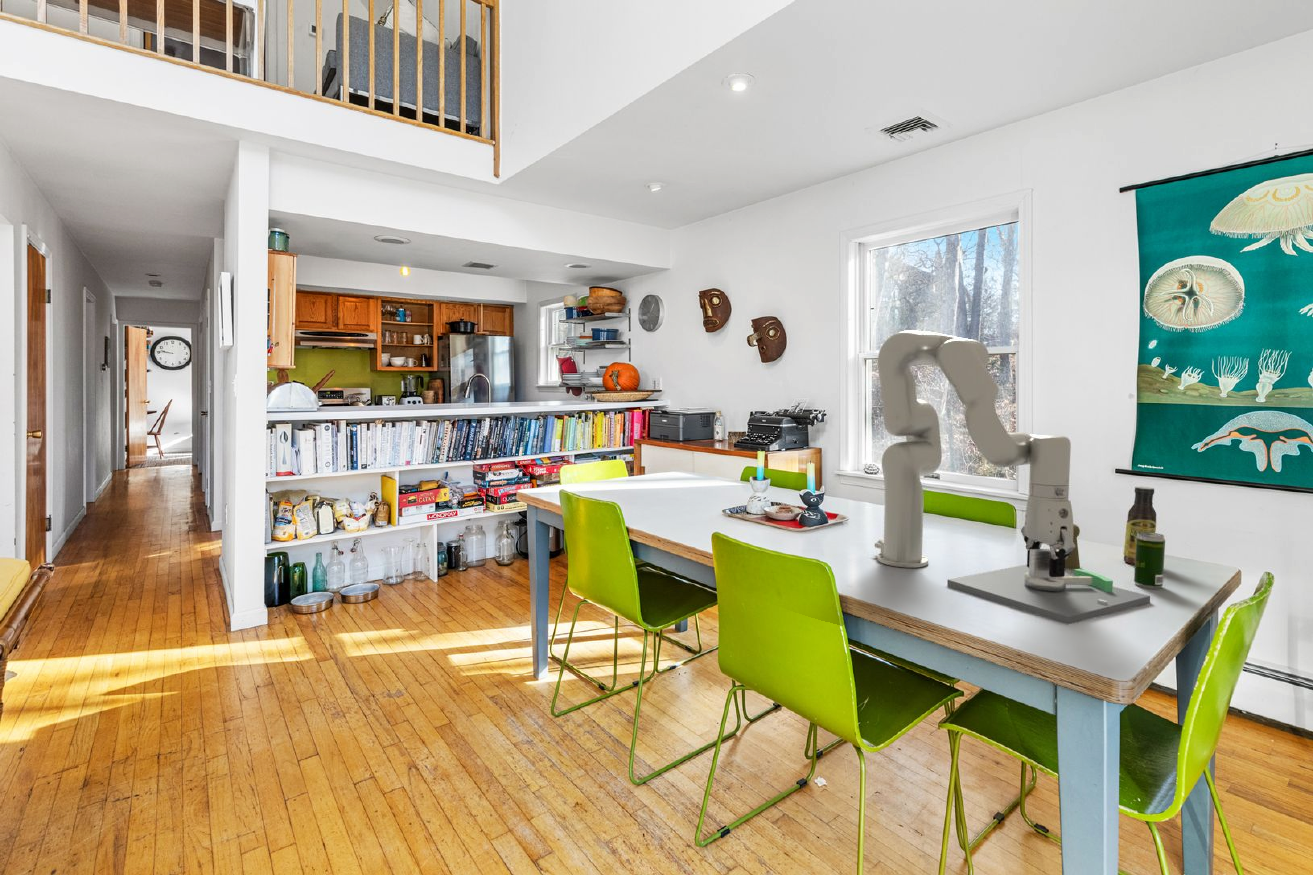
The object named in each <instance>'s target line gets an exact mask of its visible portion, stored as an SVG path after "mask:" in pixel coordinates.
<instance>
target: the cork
mask: <svg viewBox="0 0 1313 875" xmlns="http://www.w3.org/2000/svg"><path fill="white" fill-rule="evenodd" d="M1080 531H1081V530H1080V527H1079V525H1077V524H1074V523H1073V542H1074V544H1075V548H1074V549H1073V550H1072V551H1071V553H1070V554H1069V555H1068V558H1067V559H1065V570H1075V569H1081V566H1080V564H1081V563H1080V554H1079V553H1080V552H1079V547H1078V544H1079V543H1078V537H1079V535H1080ZM1057 544H1059V543H1057ZM1056 549H1058V550H1060V548H1056Z"/></svg>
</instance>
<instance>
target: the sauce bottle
mask: <svg viewBox="0 0 1313 875" xmlns="http://www.w3.org/2000/svg"><path fill="white" fill-rule="evenodd" d="M1134 493H1135V494H1134V495H1135V496H1134V502H1133V505H1132V506H1131V508H1130V509H1129V510H1128V511H1127V520H1126V524H1125V526H1126V527H1125V534H1124V535H1125V536H1124V544H1123V561H1124V562H1125V563H1128V564H1132V565H1135V553H1136V537H1137V535H1138V533H1139V532H1150V533H1157V532H1156V530H1157V512H1156V510H1155V509H1154V506H1153V504H1154V503H1153V500H1154V494H1155V488H1153V487H1149V486H1135V487H1134Z"/></svg>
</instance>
